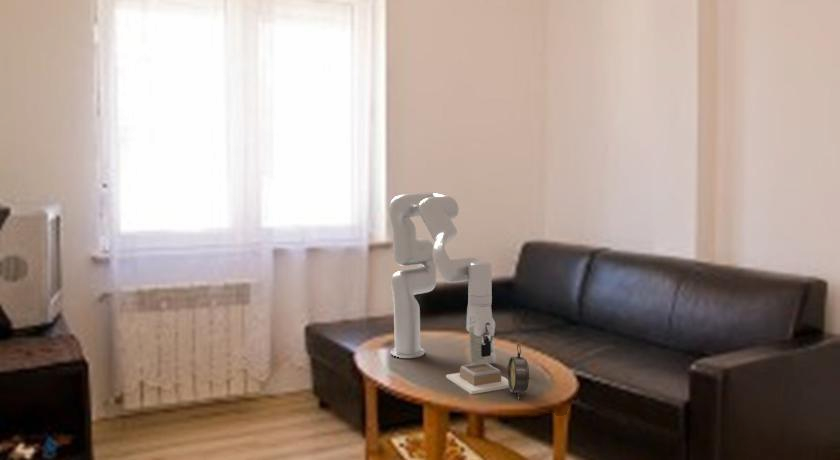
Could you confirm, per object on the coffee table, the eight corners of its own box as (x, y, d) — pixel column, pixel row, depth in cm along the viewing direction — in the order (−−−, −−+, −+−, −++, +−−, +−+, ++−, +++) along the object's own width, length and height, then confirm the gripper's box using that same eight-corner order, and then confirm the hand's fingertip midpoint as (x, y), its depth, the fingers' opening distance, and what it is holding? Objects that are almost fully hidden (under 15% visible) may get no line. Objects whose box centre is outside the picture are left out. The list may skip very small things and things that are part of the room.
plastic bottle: (494, 367, 261) (494, 311, 259) (475, 366, 262) (475, 310, 260) (496, 362, 267) (496, 307, 265) (477, 361, 269) (477, 306, 266)
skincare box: (491, 361, 246) (491, 324, 245) (488, 365, 242) (488, 328, 241) (472, 359, 248) (472, 323, 247) (468, 363, 244) (468, 326, 243)
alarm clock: (506, 389, 239) (506, 339, 237) (523, 388, 239) (523, 339, 237) (514, 401, 228) (514, 349, 226) (531, 400, 228) (531, 348, 226)
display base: (446, 377, 251) (446, 363, 250) (488, 371, 257) (488, 357, 257) (471, 394, 235) (471, 379, 234) (515, 386, 241) (515, 372, 240)
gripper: (457, 295, 249) (457, 347, 251) (482, 306, 233) (482, 361, 235) (477, 293, 252) (477, 345, 254) (503, 303, 236) (503, 358, 238)
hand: (480, 352), depth 245 cm, fingers closed on skincare box, 7 cm apart
